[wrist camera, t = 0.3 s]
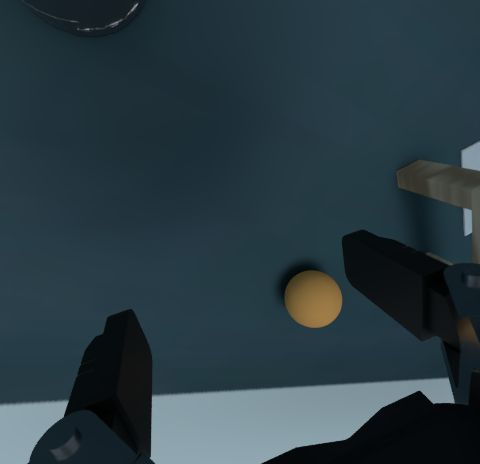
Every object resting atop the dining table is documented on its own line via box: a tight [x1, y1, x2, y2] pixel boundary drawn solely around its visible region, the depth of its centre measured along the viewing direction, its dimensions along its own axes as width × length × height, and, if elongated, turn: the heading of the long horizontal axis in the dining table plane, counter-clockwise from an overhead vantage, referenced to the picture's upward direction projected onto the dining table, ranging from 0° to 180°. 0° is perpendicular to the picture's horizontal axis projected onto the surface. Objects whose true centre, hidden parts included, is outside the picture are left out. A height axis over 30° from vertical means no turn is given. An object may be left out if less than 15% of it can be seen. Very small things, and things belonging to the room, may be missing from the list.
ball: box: [285, 270, 342, 328], centre depth 32 cm, size 6×6×6 cm
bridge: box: [396, 160, 480, 266], centre depth 32 cm, size 3×15×10 cm, turn 23°
